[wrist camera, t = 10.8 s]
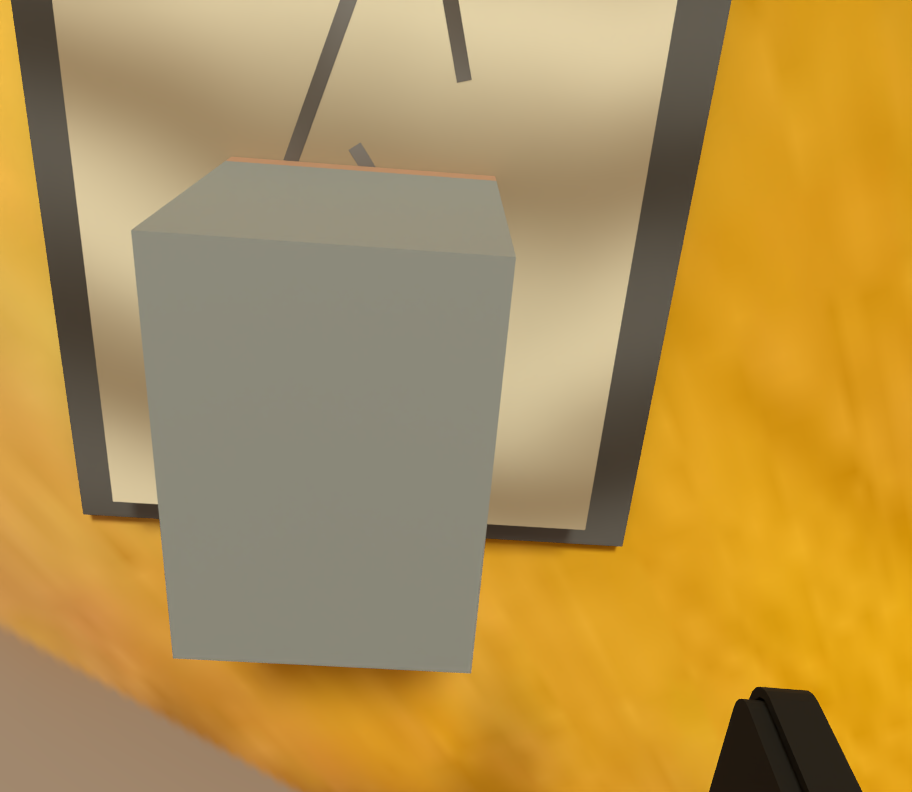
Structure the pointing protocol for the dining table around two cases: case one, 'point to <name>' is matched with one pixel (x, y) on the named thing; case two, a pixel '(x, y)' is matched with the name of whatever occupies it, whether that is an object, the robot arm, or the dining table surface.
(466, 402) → the block
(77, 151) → the board
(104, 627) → the dining table surface
